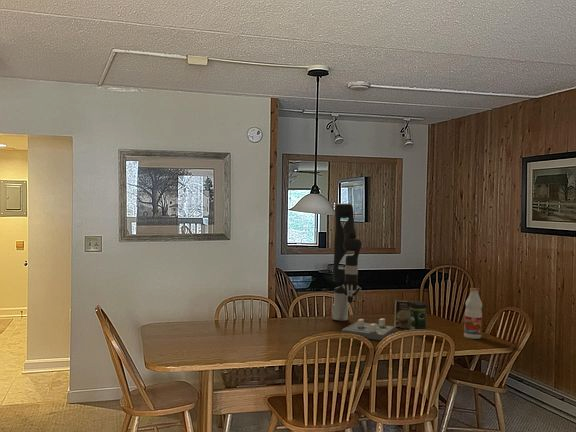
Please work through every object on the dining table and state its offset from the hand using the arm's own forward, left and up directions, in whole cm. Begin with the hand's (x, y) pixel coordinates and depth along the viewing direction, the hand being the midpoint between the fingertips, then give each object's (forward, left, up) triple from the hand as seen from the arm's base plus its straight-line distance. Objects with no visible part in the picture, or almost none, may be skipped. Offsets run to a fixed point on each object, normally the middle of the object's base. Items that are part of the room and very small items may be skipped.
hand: (350, 302), depth 332 cm
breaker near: (+17, -9, -13) cm, 23 cm away
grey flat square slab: (+12, 0, -16) cm, 20 cm away
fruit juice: (+66, +25, -17) cm, 72 cm away
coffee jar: (+36, +17, -17) cm, 43 cm away
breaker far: (+17, +9, -13) cm, 23 cm away
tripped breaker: (+7, 0, -13) cm, 15 cm away
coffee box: (+24, +29, -17) cm, 41 cm away
